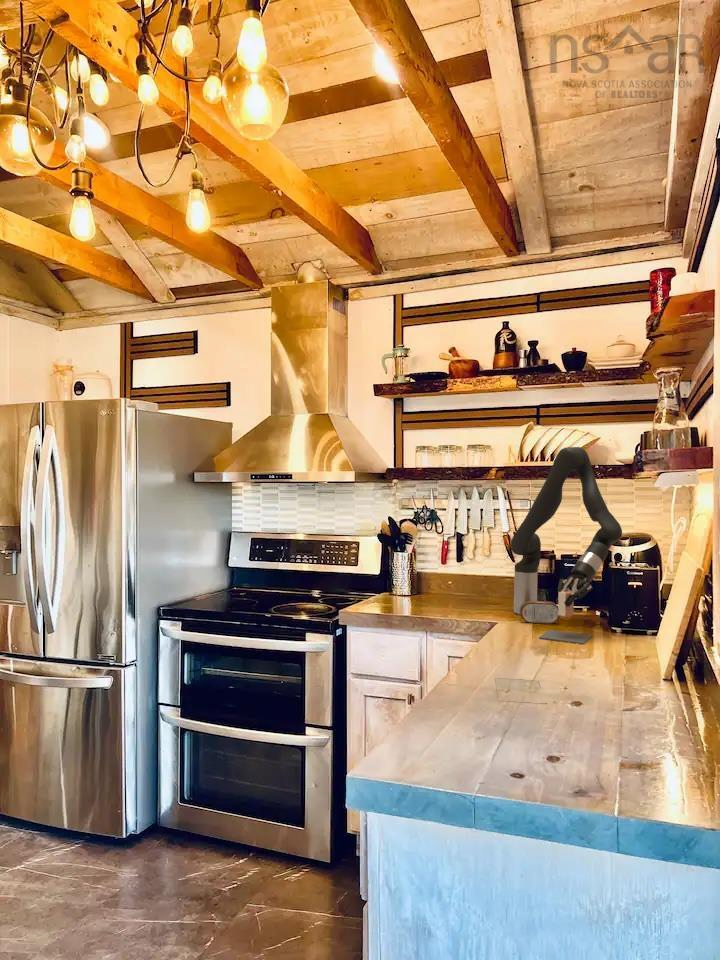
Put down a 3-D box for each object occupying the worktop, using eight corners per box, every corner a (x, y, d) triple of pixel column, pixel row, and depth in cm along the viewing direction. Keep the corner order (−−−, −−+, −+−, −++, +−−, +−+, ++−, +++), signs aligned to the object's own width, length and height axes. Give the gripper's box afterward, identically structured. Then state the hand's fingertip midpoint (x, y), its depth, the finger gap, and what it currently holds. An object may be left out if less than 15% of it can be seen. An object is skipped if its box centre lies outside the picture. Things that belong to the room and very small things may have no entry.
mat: (548, 631, 249) (548, 629, 249) (591, 636, 242) (591, 635, 242) (539, 638, 236) (539, 637, 236) (583, 644, 229) (584, 643, 229)
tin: (558, 623, 264) (559, 601, 264) (560, 624, 261) (561, 602, 261) (519, 621, 266) (519, 599, 266) (520, 623, 262) (520, 601, 262)
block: (558, 615, 239) (558, 592, 239) (566, 614, 241) (567, 591, 241) (564, 616, 236) (565, 593, 236) (573, 615, 239) (573, 592, 239)
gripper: (566, 558, 249) (541, 594, 242) (597, 562, 237) (572, 600, 230) (576, 572, 252) (552, 608, 245) (607, 577, 240) (583, 614, 233)
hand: (562, 604), depth 238 cm, fingers closed on block, 3 cm apart
